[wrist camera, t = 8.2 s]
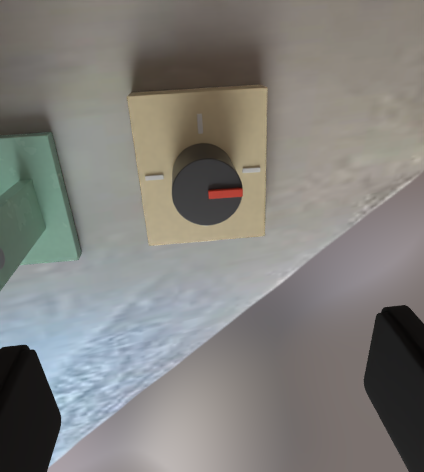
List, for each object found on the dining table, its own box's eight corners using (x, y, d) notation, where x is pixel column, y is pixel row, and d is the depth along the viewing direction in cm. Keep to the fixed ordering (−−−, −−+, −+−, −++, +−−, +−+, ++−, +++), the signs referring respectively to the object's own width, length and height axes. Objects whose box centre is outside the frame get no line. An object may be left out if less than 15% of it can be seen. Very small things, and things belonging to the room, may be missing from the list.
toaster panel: (130, 92, 28) (126, 96, 25) (260, 84, 28) (268, 87, 26) (150, 233, 33) (148, 247, 31) (259, 224, 34) (265, 237, 31)
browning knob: (175, 204, 29) (174, 230, 25) (169, 144, 27) (168, 161, 23) (234, 200, 30) (243, 225, 26) (233, 140, 28) (243, 157, 23)
